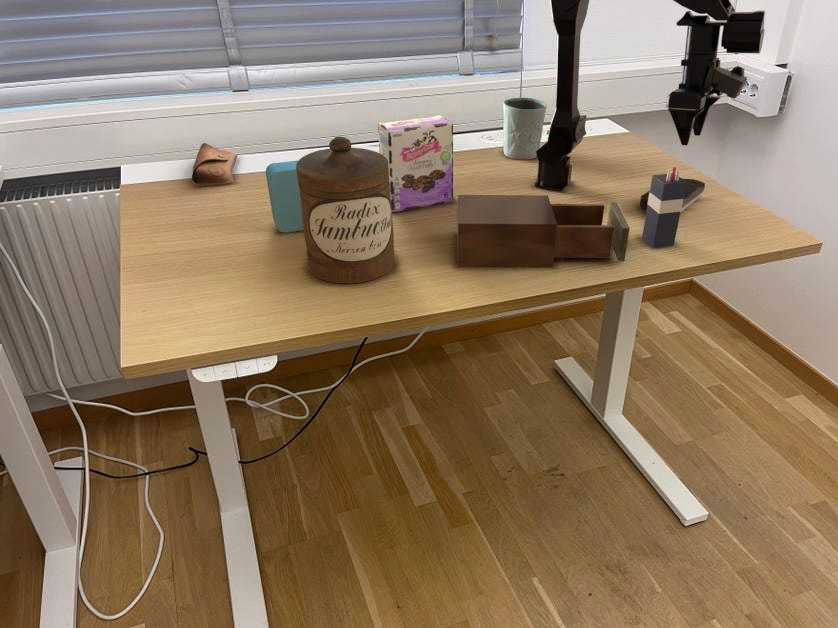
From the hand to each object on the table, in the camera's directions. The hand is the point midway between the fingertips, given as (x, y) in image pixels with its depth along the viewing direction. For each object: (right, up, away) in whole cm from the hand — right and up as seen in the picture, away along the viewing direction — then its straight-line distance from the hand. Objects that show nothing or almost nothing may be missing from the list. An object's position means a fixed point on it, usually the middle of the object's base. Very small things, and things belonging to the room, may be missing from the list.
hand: (691, 140), depth 136 cm
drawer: (-23, -22, -8) cm, 33 cm away
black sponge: (-1, -10, +11) cm, 15 cm away
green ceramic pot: (-31, +7, +35) cm, 47 cm away
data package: (-74, -17, -1) cm, 76 cm away
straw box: (-7, -20, -4) cm, 22 cm away
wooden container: (-63, -26, -14) cm, 70 cm away
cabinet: (-37, -23, -8) cm, 44 cm away
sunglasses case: (-100, 0, +21) cm, 102 cm away
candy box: (-54, -10, +9) cm, 56 cm away
